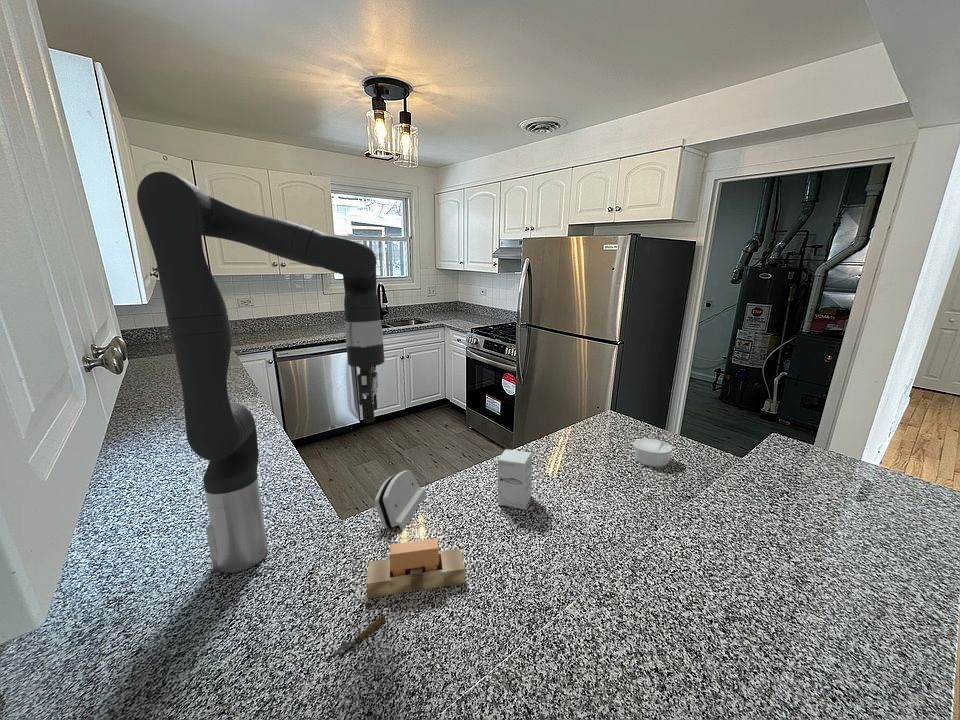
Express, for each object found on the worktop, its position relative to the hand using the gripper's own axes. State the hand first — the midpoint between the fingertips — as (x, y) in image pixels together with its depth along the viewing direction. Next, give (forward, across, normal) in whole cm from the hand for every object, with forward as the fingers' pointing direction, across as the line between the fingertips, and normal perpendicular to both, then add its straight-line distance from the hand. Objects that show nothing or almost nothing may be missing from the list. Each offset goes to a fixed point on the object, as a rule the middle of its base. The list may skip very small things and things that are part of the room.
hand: (370, 415), depth 86 cm
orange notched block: (+28, +17, +8) cm, 34 cm away
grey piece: (+28, -8, +5) cm, 30 cm away
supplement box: (+28, -6, +34) cm, 45 cm away
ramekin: (+28, -19, +82) cm, 89 cm away
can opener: (+29, +28, -1) cm, 40 cm away
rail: (+28, +17, +8) cm, 34 cm away
